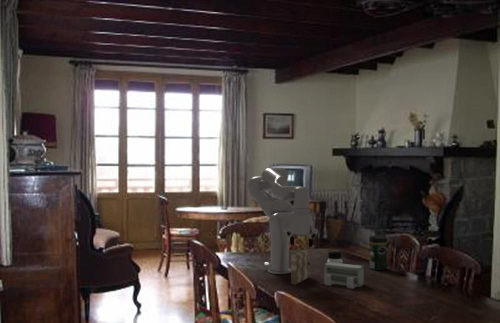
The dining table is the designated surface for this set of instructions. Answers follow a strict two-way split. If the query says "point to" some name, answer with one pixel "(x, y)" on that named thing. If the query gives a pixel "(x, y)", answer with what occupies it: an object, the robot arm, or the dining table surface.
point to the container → (334, 257)
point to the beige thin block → (300, 266)
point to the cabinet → (343, 274)
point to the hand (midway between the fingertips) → (301, 246)
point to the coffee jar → (378, 252)
